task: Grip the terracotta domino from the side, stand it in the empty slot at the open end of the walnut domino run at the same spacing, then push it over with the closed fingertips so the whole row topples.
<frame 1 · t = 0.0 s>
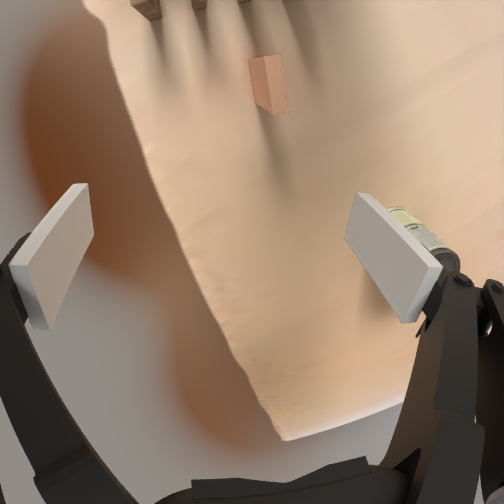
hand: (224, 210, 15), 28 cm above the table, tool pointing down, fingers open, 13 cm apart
coffee can: (390, 232, 52), on the table
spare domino: (257, 80, 36), on the table
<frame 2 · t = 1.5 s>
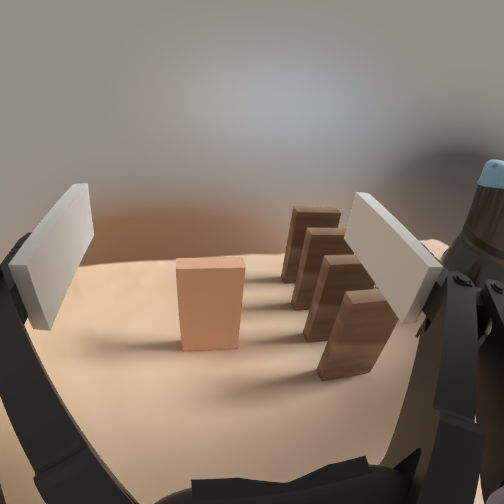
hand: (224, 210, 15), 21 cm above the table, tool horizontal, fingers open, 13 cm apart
domino 4: (344, 370, 32), on the table
domino 1: (302, 279, 46), on the table
domino 3: (328, 335, 37), on the table
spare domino: (209, 344, 34), on the table
domino 2: (314, 304, 41), on the table
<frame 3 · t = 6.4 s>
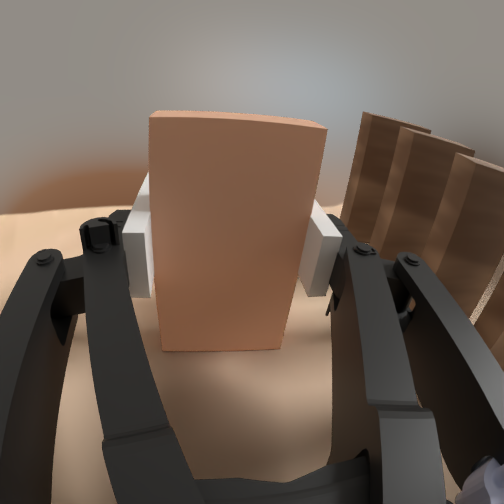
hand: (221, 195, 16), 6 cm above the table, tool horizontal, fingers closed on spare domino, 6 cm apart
domino 4: (472, 382, 14), on the table
domino 1: (368, 238, 28), on the table
domino 3: (432, 321, 19), on the table
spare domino: (220, 339, 16), on the table, touching gripper
domino 2: (396, 274, 23), on the table
when the fingers open (7 cm above the table, at t = 13.6 s): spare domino stays where it is, on the table.
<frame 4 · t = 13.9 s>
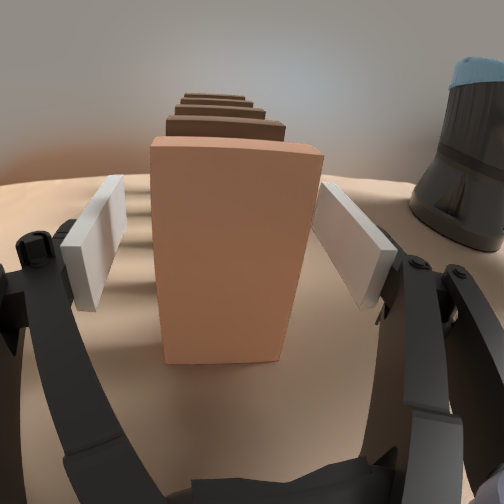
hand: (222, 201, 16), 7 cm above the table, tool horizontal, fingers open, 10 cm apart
domino 4: (214, 288, 21), on the table
domino 3: (211, 245, 26), on the table
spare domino: (221, 352, 17), on the table
domino 2: (209, 215, 30), on the table
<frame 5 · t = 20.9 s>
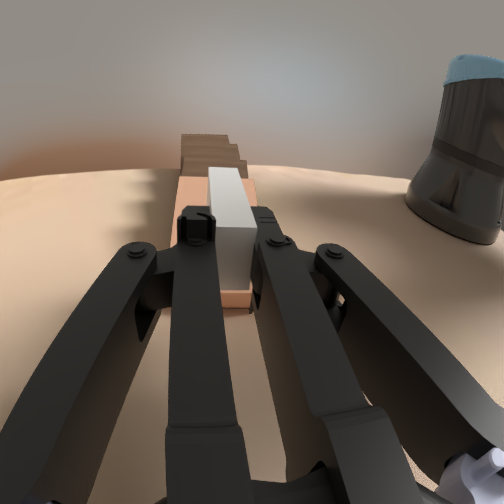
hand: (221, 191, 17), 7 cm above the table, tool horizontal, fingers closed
domino 4: (212, 250, 23), point 1 cm above the table, tilted 74°, touching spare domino
domino 3: (215, 213, 28), point 1 cm above the table, tilted 73°, touching domino 2
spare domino: (217, 300, 19), point 1 cm above the table, tilted 74°, touching domino 4
domino 2: (209, 190, 33), point 1 cm above the table, tilted 74°, touching domino 3
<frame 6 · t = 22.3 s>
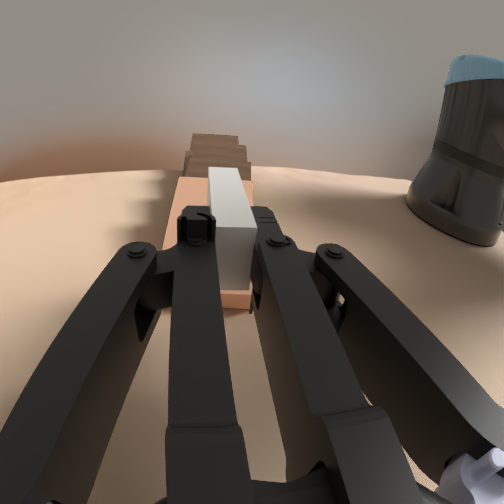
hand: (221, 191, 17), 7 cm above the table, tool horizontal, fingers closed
domino 4: (209, 248, 24), point 1 cm above the table, tilted 74°, touching domino 3, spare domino
domino 3: (217, 210, 29), point 1 cm above the table, tilted 74°, touching domino 2, domino 4
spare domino: (205, 299, 19), point 1 cm above the table, tilted 74°, touching domino 4
domino 2: (213, 187, 34), point 1 cm above the table, tilted 74°, touching domino 1, domino 3
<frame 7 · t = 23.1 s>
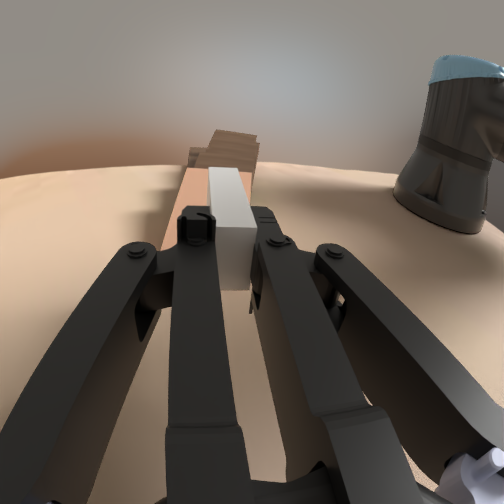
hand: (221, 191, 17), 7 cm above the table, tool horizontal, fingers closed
domino 4: (210, 228, 27), point 1 cm above the table, tilted 74°, touching domino 3, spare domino
domino 1: (210, 174, 40), on the table, tilted 90°, touching domino 2
domino 3: (219, 198, 32), point 1 cm above the table, tilted 73°, touching domino 2, domino 4
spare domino: (201, 269, 22), point 1 cm above the table, tilted 74°, touching domino 4
domino 2: (221, 178, 37), point 1 cm above the table, tilted 74°, touching domino 1, domino 3
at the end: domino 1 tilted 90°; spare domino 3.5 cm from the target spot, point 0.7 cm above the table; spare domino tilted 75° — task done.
